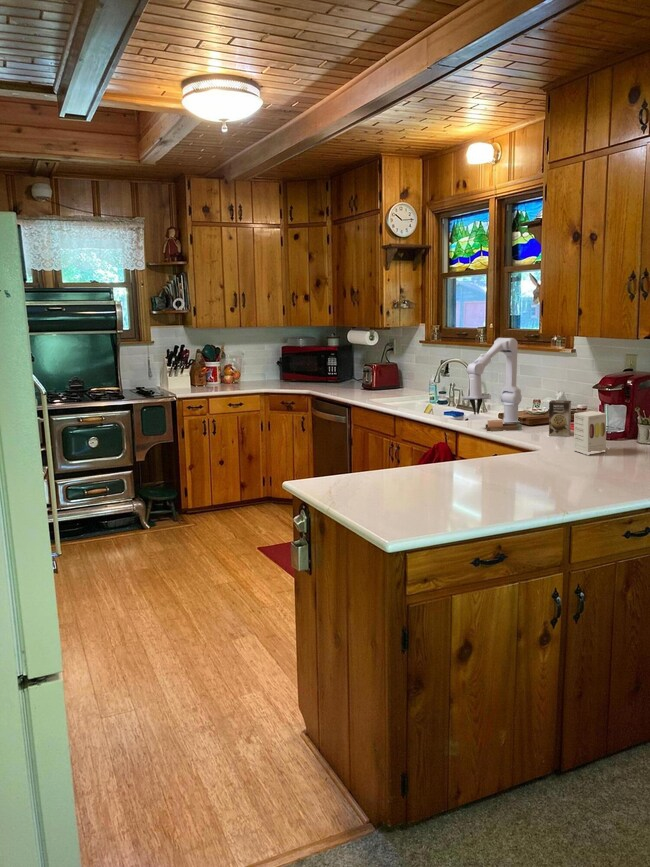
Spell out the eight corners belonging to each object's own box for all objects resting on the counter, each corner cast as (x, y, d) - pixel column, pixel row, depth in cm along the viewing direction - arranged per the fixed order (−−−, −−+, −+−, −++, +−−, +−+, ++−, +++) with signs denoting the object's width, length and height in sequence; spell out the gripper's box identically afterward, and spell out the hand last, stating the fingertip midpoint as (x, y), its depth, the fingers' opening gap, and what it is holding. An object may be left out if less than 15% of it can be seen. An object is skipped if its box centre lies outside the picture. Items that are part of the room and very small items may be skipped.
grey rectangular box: (548, 436, 328) (548, 402, 325) (551, 433, 334) (550, 399, 330) (569, 436, 324) (568, 402, 320) (571, 433, 329) (571, 400, 326)
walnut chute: (485, 428, 355) (485, 423, 354) (519, 426, 352) (519, 421, 352) (487, 431, 347) (486, 426, 347) (521, 430, 345) (521, 424, 344)
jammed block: (487, 429, 353) (487, 420, 352) (501, 428, 352) (501, 419, 351) (488, 431, 349) (488, 422, 348) (503, 430, 348) (502, 421, 347)
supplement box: (587, 456, 289) (587, 416, 286) (573, 451, 298) (573, 413, 294) (606, 452, 292) (607, 413, 289) (591, 448, 301) (591, 410, 297)
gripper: (461, 389, 344) (462, 416, 347) (491, 387, 342) (492, 414, 345) (460, 387, 351) (461, 413, 354) (489, 385, 349) (490, 412, 352)
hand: (476, 414), depth 350 cm, fingers closed
